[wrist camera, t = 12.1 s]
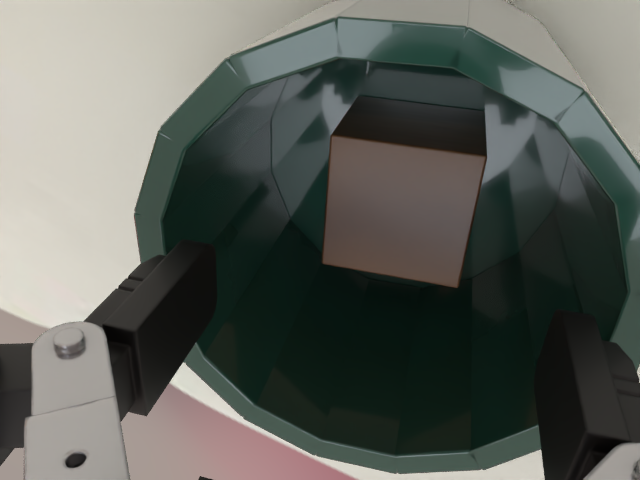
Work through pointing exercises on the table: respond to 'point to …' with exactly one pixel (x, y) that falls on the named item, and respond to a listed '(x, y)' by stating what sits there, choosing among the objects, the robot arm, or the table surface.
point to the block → (403, 189)
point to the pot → (381, 290)
